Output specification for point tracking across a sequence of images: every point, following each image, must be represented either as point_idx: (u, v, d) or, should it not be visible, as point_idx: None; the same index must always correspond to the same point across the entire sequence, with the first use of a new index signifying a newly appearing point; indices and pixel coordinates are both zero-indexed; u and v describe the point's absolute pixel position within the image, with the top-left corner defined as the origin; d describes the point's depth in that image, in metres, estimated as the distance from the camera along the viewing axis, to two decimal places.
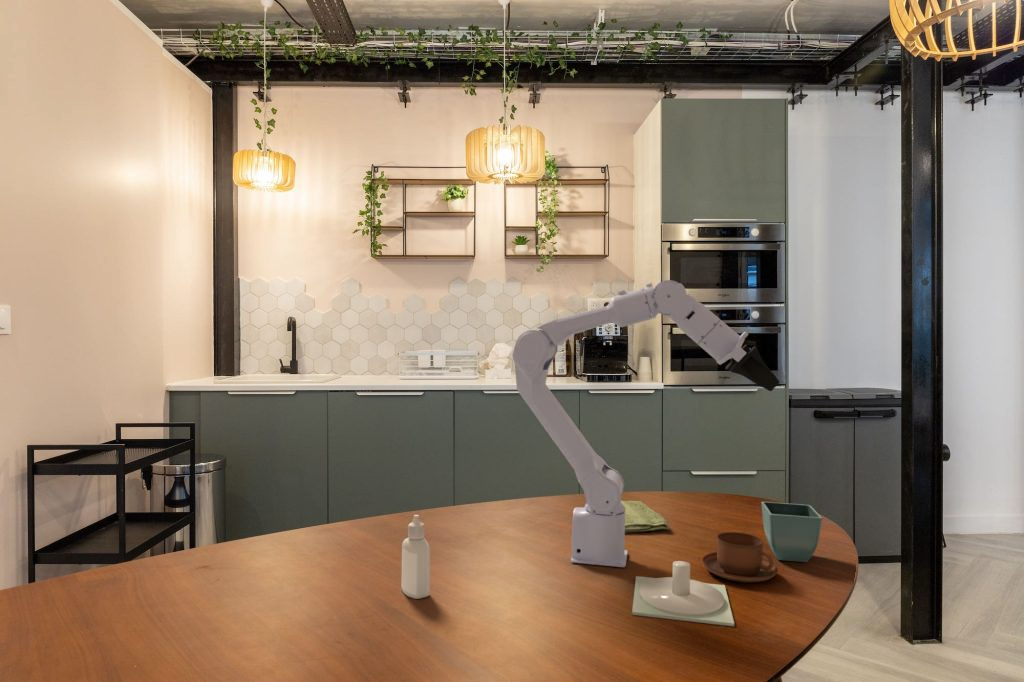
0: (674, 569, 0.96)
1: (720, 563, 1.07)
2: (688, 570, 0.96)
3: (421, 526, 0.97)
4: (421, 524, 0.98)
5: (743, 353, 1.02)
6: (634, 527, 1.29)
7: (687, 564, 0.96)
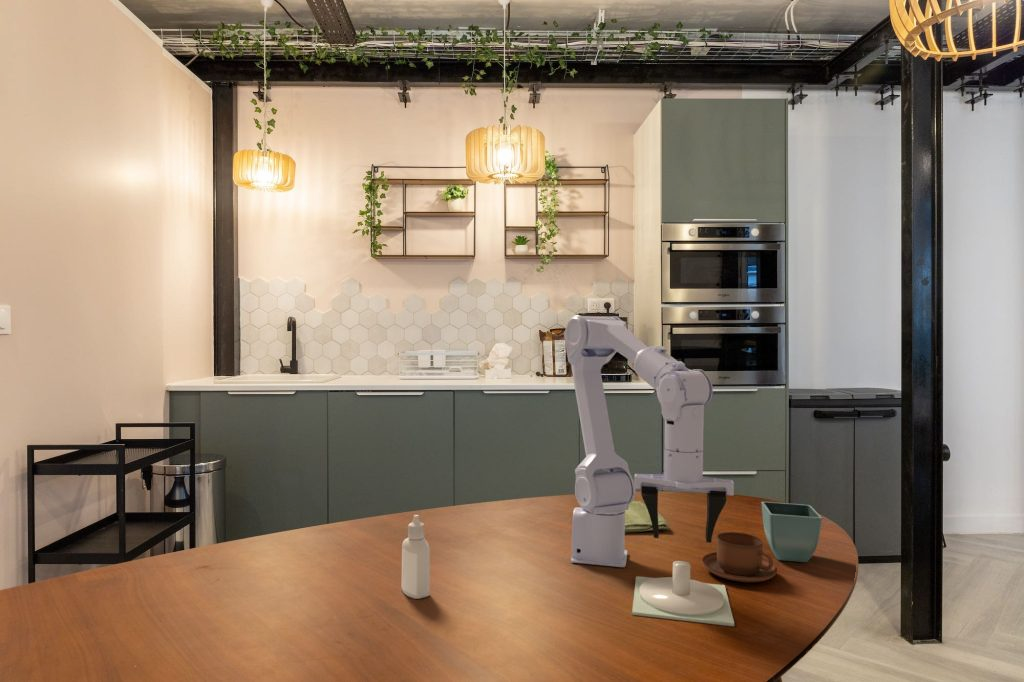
0: (674, 569, 0.96)
1: (720, 563, 1.07)
2: (688, 570, 0.96)
3: (421, 526, 0.97)
4: (421, 524, 0.98)
5: (634, 485, 0.98)
6: (634, 527, 1.29)
7: (687, 564, 0.96)
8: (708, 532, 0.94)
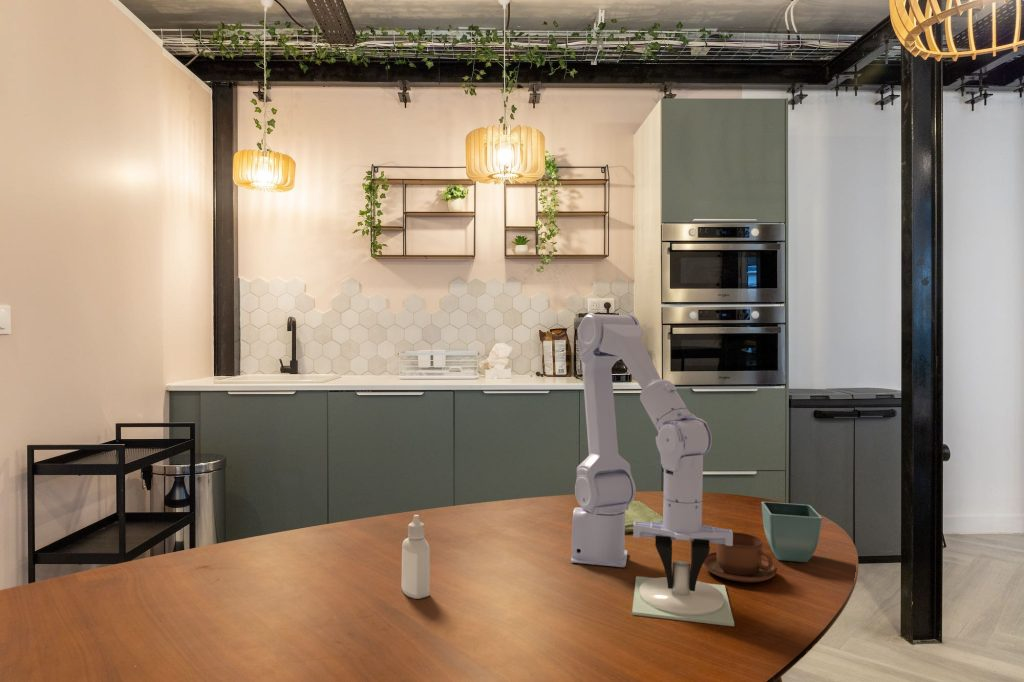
0: (674, 569, 0.96)
1: (719, 563, 1.07)
2: (688, 570, 0.96)
3: (421, 526, 0.97)
4: (421, 524, 0.98)
5: (633, 534, 0.98)
6: None
7: (687, 564, 0.96)
8: (692, 581, 0.95)
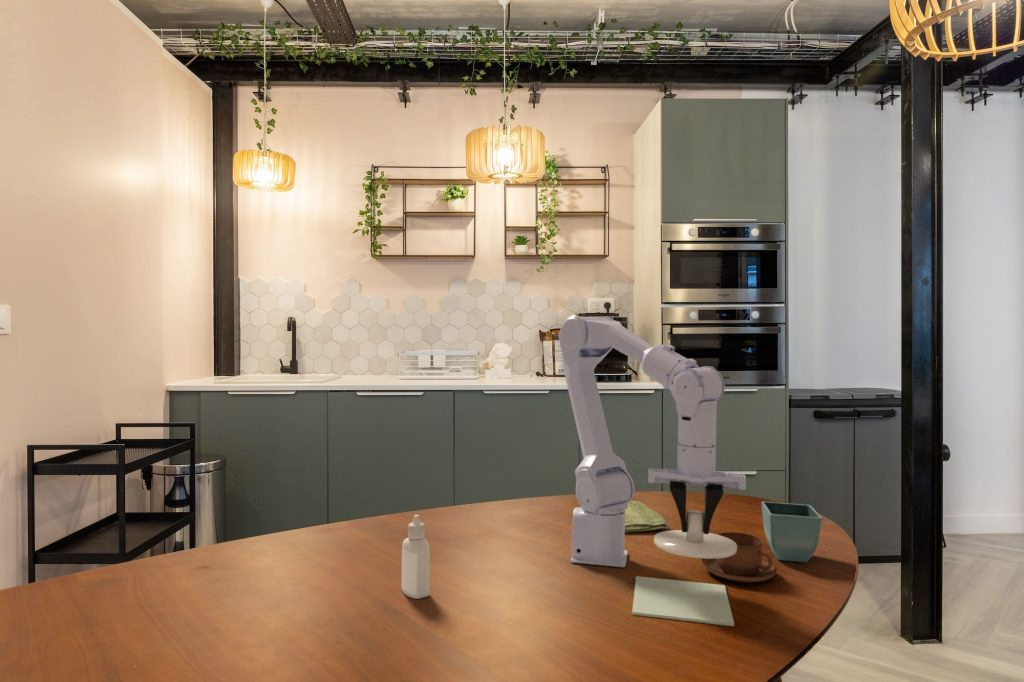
0: (688, 517, 0.98)
1: (719, 563, 1.07)
2: (702, 518, 0.98)
3: (421, 526, 0.97)
4: (421, 524, 0.98)
5: (648, 480, 1.00)
6: (634, 527, 1.29)
7: (701, 512, 0.99)
8: (705, 524, 0.97)
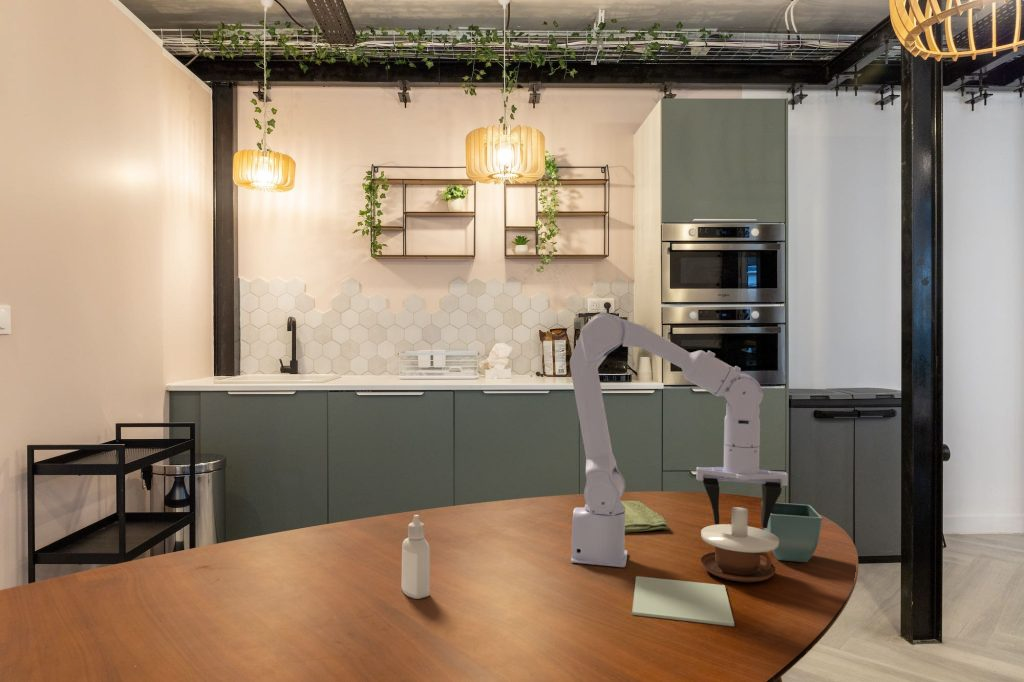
0: (733, 514, 1.07)
1: (718, 563, 1.07)
2: (746, 515, 1.06)
3: (421, 526, 0.97)
4: (421, 524, 0.98)
5: (696, 477, 1.09)
6: (634, 527, 1.29)
7: (745, 509, 1.07)
8: (764, 519, 1.06)
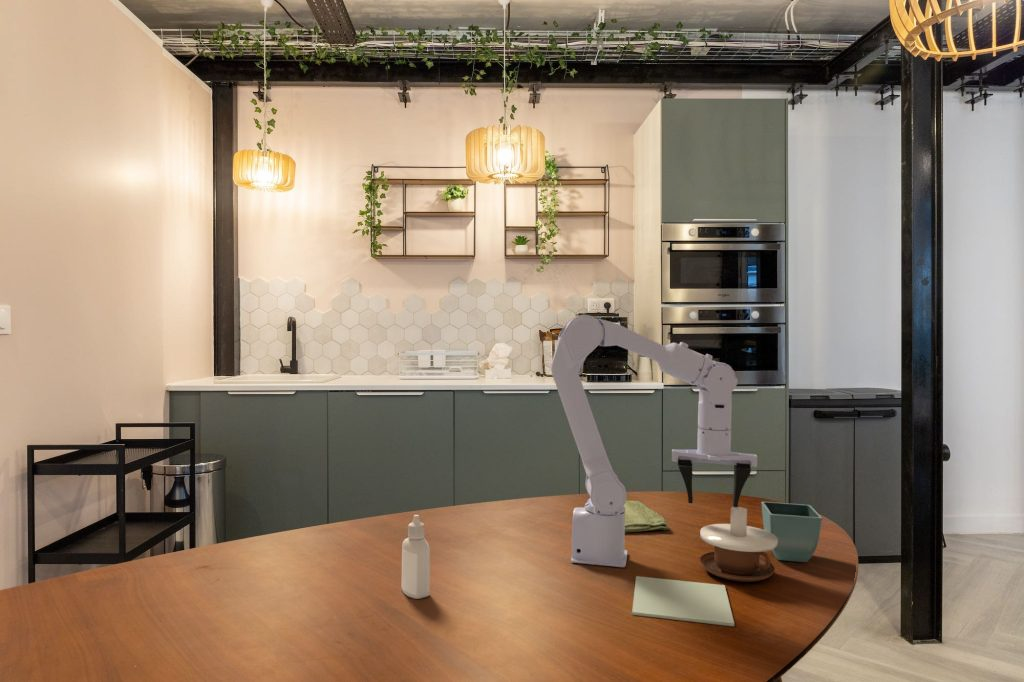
0: (732, 513, 1.07)
1: (717, 562, 1.07)
2: (745, 514, 1.07)
3: (421, 526, 0.97)
4: (421, 524, 0.98)
5: None
6: (634, 527, 1.29)
7: (744, 509, 1.07)
8: (735, 498, 1.12)
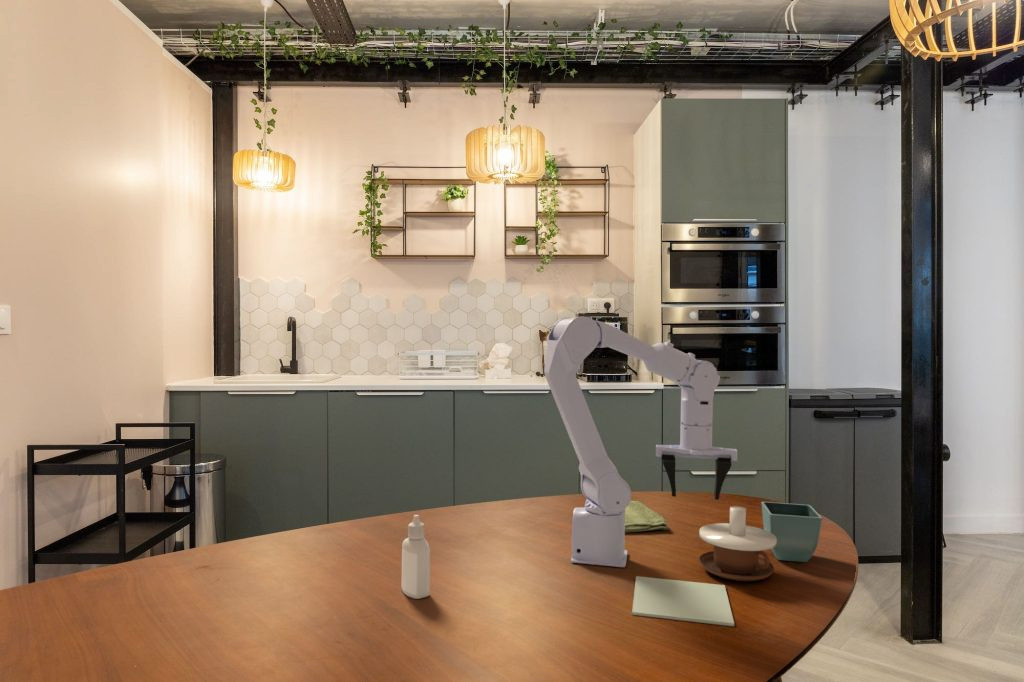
0: (731, 512, 1.07)
1: (717, 562, 1.08)
2: (744, 513, 1.07)
3: (421, 526, 0.97)
4: (421, 524, 0.98)
5: None
6: (634, 527, 1.29)
7: (743, 508, 1.08)
8: (716, 491, 1.16)
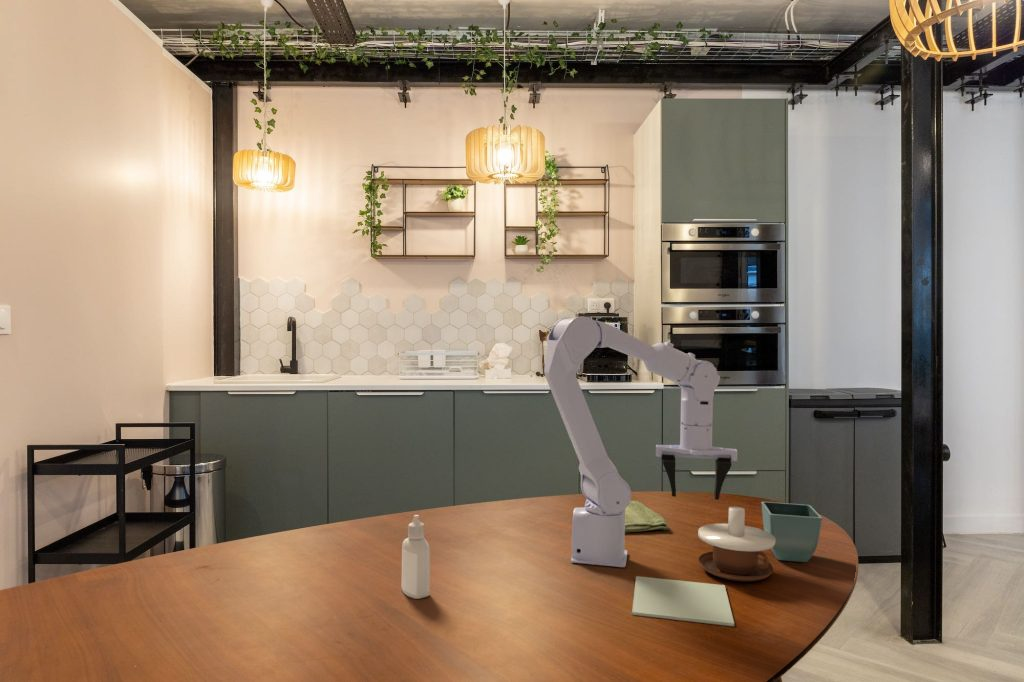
0: (730, 513, 1.08)
1: (716, 562, 1.08)
2: (743, 514, 1.07)
3: (421, 526, 0.97)
4: (421, 524, 0.98)
5: None
6: (634, 527, 1.29)
7: (742, 509, 1.08)
8: (716, 491, 1.16)
